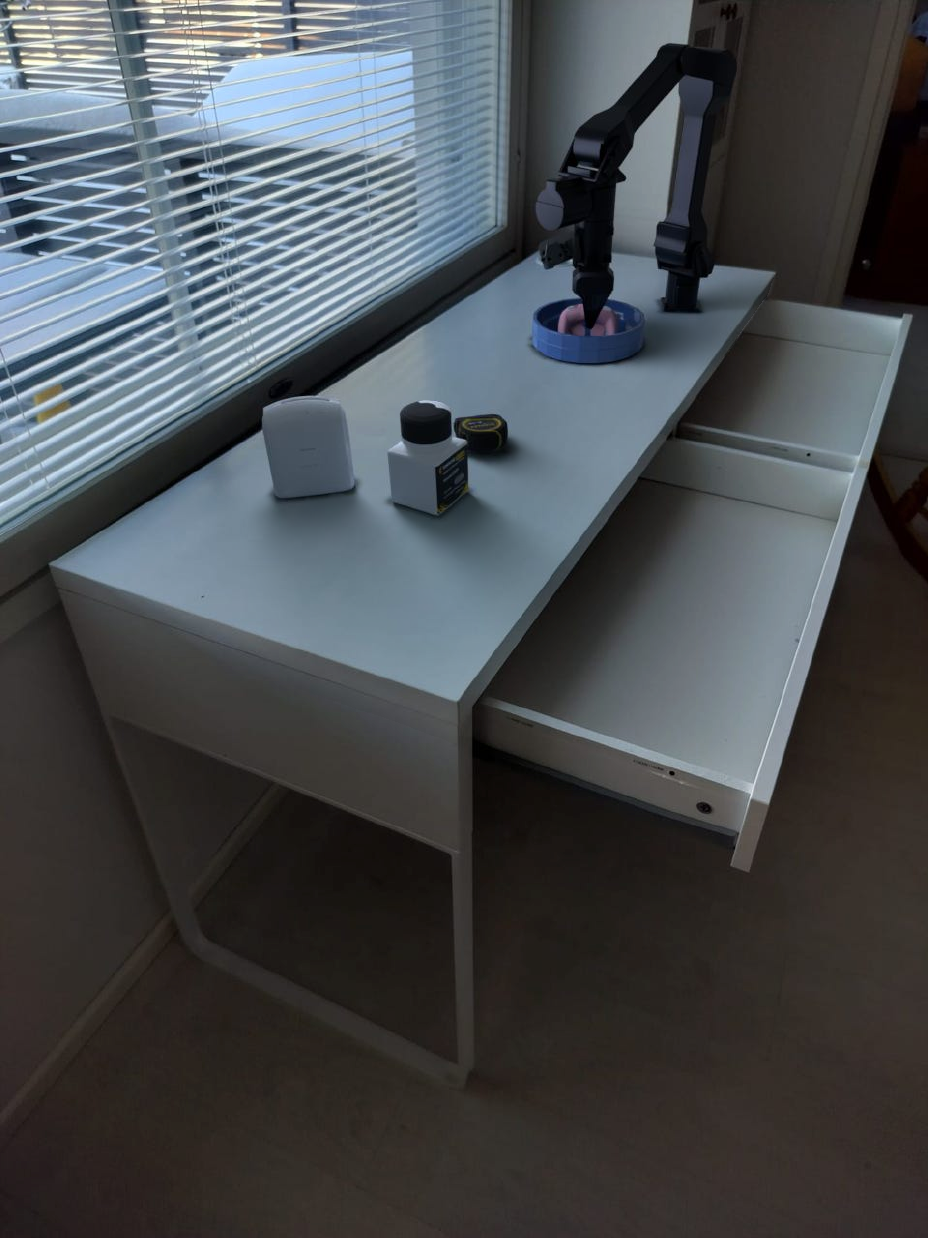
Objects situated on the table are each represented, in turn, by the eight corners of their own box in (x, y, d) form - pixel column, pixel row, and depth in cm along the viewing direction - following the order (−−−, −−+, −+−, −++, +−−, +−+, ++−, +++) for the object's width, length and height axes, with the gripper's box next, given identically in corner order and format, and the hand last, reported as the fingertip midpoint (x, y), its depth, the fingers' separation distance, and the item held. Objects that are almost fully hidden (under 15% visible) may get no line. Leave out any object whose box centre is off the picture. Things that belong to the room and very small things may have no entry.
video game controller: (616, 348, 149) (618, 304, 148) (617, 345, 145) (620, 300, 144) (557, 347, 150) (558, 304, 149) (557, 345, 146) (559, 300, 144)
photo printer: (274, 502, 111) (257, 410, 103) (273, 485, 114) (257, 395, 106) (356, 493, 112) (345, 401, 104) (353, 476, 115) (343, 386, 107)
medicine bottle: (438, 517, 107) (433, 426, 99) (390, 502, 110) (382, 412, 102) (469, 490, 112) (467, 401, 104) (422, 477, 115) (417, 389, 107)
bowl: (534, 322, 156) (535, 297, 154) (638, 323, 155) (641, 297, 152) (530, 363, 142) (531, 336, 140) (645, 365, 141) (648, 337, 138)
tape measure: (501, 433, 124) (501, 408, 121) (512, 455, 118) (513, 430, 116) (453, 438, 123) (452, 413, 121) (462, 461, 118) (461, 435, 115)
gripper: (544, 201, 144) (541, 298, 154) (540, 234, 130) (538, 338, 139) (613, 201, 143) (606, 298, 153) (617, 234, 129) (609, 339, 138)
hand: (588, 317), depth 146 cm, fingers open, 9 cm apart
